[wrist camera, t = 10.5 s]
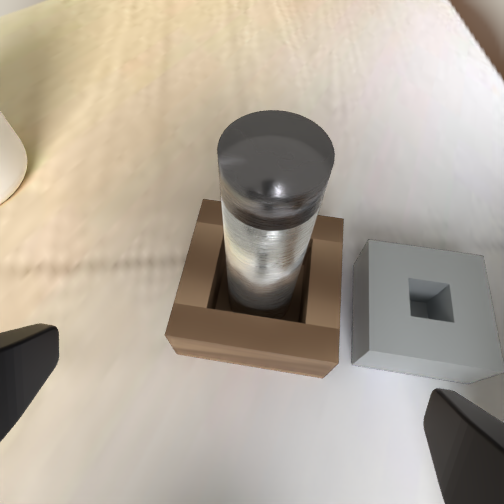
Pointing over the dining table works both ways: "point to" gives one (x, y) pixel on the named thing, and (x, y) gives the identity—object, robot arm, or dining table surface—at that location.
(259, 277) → the cylinder
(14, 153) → the wine bottle
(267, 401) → the dining table surface
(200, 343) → the walnut block
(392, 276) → the slate block
